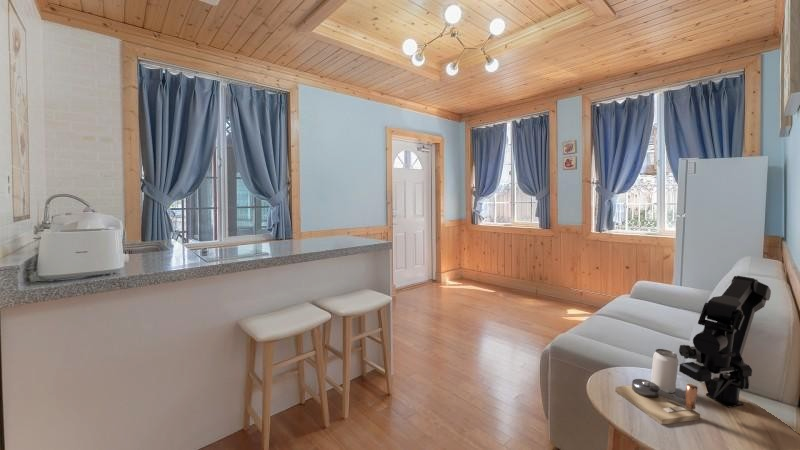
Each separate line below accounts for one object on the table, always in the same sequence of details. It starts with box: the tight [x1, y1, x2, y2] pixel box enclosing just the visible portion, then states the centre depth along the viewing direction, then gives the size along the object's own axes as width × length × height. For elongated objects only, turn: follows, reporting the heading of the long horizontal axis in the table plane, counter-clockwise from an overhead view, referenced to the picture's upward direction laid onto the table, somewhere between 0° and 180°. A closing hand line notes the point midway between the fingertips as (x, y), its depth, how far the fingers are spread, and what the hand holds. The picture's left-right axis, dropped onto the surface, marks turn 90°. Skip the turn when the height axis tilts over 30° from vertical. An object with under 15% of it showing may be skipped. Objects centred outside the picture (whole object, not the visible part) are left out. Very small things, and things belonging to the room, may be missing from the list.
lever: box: [631, 378, 698, 410], centre depth 106 cm, size 16×7×7 cm, turn 37°
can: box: [650, 348, 679, 394], centre depth 114 cm, size 6×6×12 cm
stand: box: [614, 384, 701, 425], centre depth 106 cm, size 13×16×2 cm
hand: (711, 397), depth 102 cm, fingers closed
